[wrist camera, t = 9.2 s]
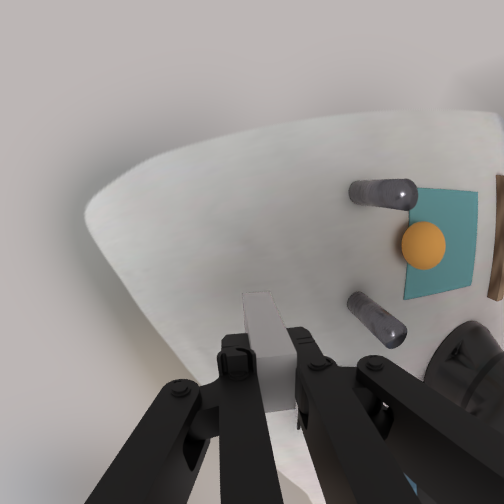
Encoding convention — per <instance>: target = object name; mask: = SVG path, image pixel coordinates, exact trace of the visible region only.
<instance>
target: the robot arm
mask: <svg viewBox="0 0 504 504" xmlns="http://www.w3.org/2000/svg"><path fill="white" fill-rule="evenodd" d="M242 295H243V308H244V322H245V333H242V334H230V335H226V336H225V337H224V338H223V339H222V345H221V347H222V348H221V351H220V352H219V353H218V355H217V364H218V370H219V378H218V379H217V380H215V381H214V382H212V383H210V384H207V385H203V386H198V384H197V383H195V382H194V381H191V380H188V379H178V380H173V381H171V382H169V383H167V384H166V385H165V386H164V387H163V388H162V389H161V391H160V392H159V394H158V395H157V397H156V398H155V400H154V401H153V403H152V404H151V406H150V407H149V408H148V410H147V411H146V413H145V414H144V416H143V417H142V419H141V420H140V422H139V423H138V425H137V426H136V428H135V429H134V431H133V432H132V434H131V435H130V437H129V438H128V440H127V441H126V443H125V444H124V446H123V447H122V449H121V450H120V451H119V453H118V454H117V456H116V458H115V459H114V460H113V462H112V463H111V465H110V466H109V468H108V469H107V471H106V472H105V474H104V475H103V477H102V478H101V480H100V481H99V483H98V484H97V486H96V487H95V489H94V490H93V492H92V493H91V494H90V496H89V497H88V499H87V500H86V502H85V503H84V504H187V501H188V499H189V496H190V493H191V491H192V488H193V486H194V483H195V480H196V478H197V475H198V473H199V470H200V467H201V465H202V462H203V460H204V457H205V454H206V452H207V449H208V446H209V444H210V439H211V438H213V437H216V436H219V450H220V494H221V504H284V503H283V498H282V494H281V489H280V485H279V480H278V475H277V470H276V465H275V460H274V456H273V451H272V446H271V441H270V436H269V431H268V426H267V421H266V416H265V413H267V412H275V411H283V410H290V409H295V405H296V402H297V405H298V422H297V430H299V429H300V425H301V428H302V431H303V434H304V437H305V440H306V443H307V446H308V449H309V452H310V456H311V459H312V462H313V465H314V468H315V471H316V474H317V477H318V480H319V483H320V486H321V489H322V492H323V495H324V498H325V501H326V504H504V351H503V350H502V349H501V348H500V346H499V345H498V343H497V342H496V340H495V339H494V337H493V336H492V335H491V333H490V331H489V330H488V329H487V328H486V327H485V326H483V325H482V324H480V323H478V322H476V321H470V322H467V323H464V324H462V325H461V326H459V327H458V328H457V329H455V330H454V331H453V332H452V333H451V334H450V335H449V336H448V337H447V338H446V339H445V340H444V342H443V343H442V344H441V346H440V347H439V348H438V350H437V351H436V353H435V354H434V356H433V358H432V360H431V362H430V364H429V366H428V369H427V371H426V375H425V379H424V383H423V382H422V381H420V380H419V379H417V378H416V377H414V376H413V375H411V374H410V373H408V372H407V371H405V370H404V369H402V368H401V367H399V366H398V365H396V364H395V363H393V362H392V361H390V360H389V359H387V358H385V357H383V356H378V355H369V356H365V357H363V358H361V359H360V360H359V361H358V363H357V367H340V366H337V364H336V362H335V361H334V360H333V359H331V358H329V357H327V356H324V355H323V354H322V352H321V350H320V349H319V347H318V345H317V344H316V342H315V340H314V339H313V338H312V335H311V333H310V332H309V331H308V330H307V329H305V328H303V327H294V328H286V327H285V325H284V323H283V320H282V318H281V316H280V314H279V311H278V309H277V307H276V305H275V302H274V300H273V298H272V296H271V293H270V291H264V292H252V293H242ZM383 402H384V403H385V404H386V405H388V406H389V407H388V408H387V407H385V406H384V405H383Z"/></svg>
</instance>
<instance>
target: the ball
mask: <svg viewBox="0 0 504 504" xmlns="http://www.w3.org/2000/svg"><path fill="white" fill-rule="evenodd" d="M445 248H446V244H445V238H444V235H443V233H442V232H441V230H440V229H439V228H438V227H437V226H436V225H434V224H432V223H430V222H425V221H421V222H417V223H414V224H413V225H411V226H410V227H409V228H408V229H407V230H406V232H405V233H404V235H403V238H402V253H403V256H404V258H405V259H406V261H407V262H408V263H409V264H410V265H411V266H412V267H414V268H416V269H420V270H427V269H431V268H433V267H435V266H436V265H437V264H439V263H440V261H441V260H442V258H443V256H444V253H445Z"/></svg>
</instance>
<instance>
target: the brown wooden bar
mask: <svg viewBox="0 0 504 504" xmlns="http://www.w3.org/2000/svg"><path fill="white" fill-rule="evenodd" d="M496 186H497V213H496V234H495V246H494V256H493V264H492V272H491V278H490V285H489V290H488V296H487V297H489V298H491V299H493V300H495V301H500V300H502V299H503V295H504V176H503V175H496Z"/></svg>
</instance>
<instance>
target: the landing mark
mask: <svg viewBox="0 0 504 504" xmlns="http://www.w3.org/2000/svg"><path fill="white" fill-rule="evenodd" d="M417 190H418V201H417V204H416V206H415V207H414V208H413V209H411V210H409V227H410V226H411V225H413V224H414V223H417V222H421V221H425V222H430V223H432V224H434V225H436V226H437V227H438V228H439V229H440V230H441V232H442V233H443V235H444V238H445V244H446V248H445V253H444V256H443V258H442V260H441V261H440V263H439V264H437V265H436V266H435V267H433V268H431V269H427V270H420V269H416V268H414V267H412V266H411V265H410V264H409V263H408V262H407V272H406V283H405V292H404V300H407V299H412V298H417V297H422V296H427V295H432V294H436V293H441V292H445V291H450V290H454V289H458V288H462V287H466V286H470V285H471V283H472V276H473V269H474V260H475V250H476V238H477V219H478V192H471V191H459V190H446V189H430V188H417Z"/></svg>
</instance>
